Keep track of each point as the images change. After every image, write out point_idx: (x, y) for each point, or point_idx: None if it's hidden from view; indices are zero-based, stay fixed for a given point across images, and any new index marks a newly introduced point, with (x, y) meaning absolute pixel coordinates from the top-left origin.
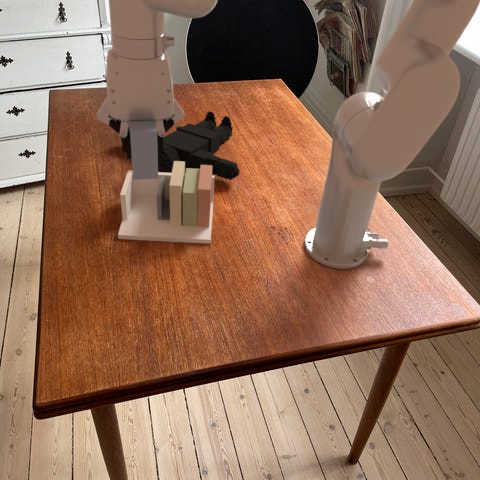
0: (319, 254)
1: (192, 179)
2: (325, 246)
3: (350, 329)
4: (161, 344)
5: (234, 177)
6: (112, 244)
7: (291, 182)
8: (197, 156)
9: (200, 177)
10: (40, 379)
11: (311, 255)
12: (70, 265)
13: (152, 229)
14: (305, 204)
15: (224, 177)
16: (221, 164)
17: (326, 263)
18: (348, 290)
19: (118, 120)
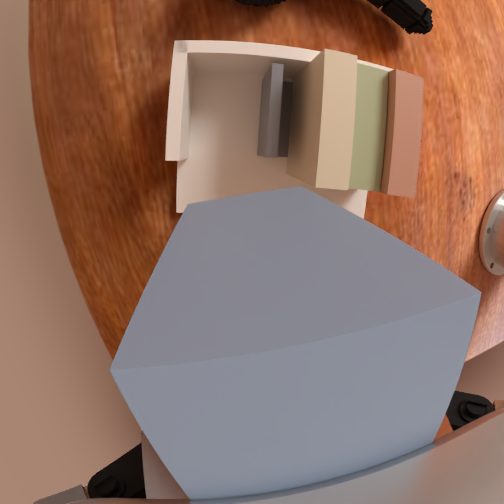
0: (489, 256)
1: (370, 121)
2: (502, 262)
3: None
4: None
5: (418, 32)
6: (169, 227)
7: (486, 55)
8: None
9: (396, 135)
10: None
11: (481, 253)
12: (113, 285)
13: (247, 190)
14: (499, 120)
15: (398, 24)
16: (404, 5)
17: (488, 270)
18: (485, 305)
19: (145, 492)
